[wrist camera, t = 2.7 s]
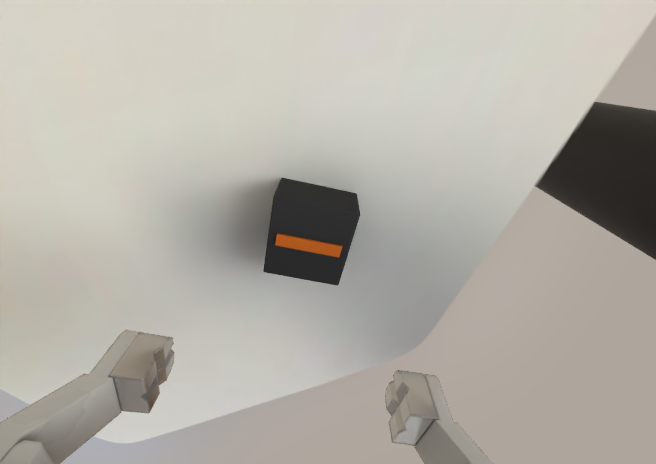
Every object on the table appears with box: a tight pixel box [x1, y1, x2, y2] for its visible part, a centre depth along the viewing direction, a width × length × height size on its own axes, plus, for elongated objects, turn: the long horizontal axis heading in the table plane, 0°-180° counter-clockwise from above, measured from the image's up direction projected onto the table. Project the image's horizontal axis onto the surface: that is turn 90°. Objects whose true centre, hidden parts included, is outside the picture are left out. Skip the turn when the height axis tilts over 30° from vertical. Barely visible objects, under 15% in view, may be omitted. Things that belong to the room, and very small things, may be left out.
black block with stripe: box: [264, 178, 360, 285], centre depth 19 cm, size 5×6×3 cm
